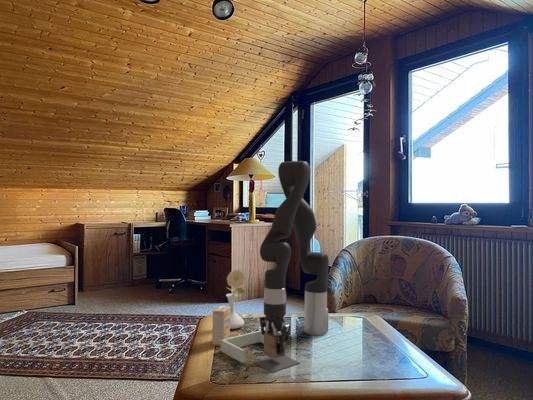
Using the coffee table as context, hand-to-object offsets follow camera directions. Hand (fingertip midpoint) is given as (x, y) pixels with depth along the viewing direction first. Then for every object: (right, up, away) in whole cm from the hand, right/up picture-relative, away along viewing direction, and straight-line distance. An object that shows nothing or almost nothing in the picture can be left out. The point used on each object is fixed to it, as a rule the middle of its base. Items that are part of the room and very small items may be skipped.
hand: (274, 351), depth 135 cm
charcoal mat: (+1, -4, -1) cm, 4 cm away
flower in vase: (-17, -4, +37) cm, 41 cm away
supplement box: (-20, -4, +19) cm, 28 cm away
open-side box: (-8, -4, +10) cm, 13 cm away
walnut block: (0, -1, 0) cm, 1 cm away
